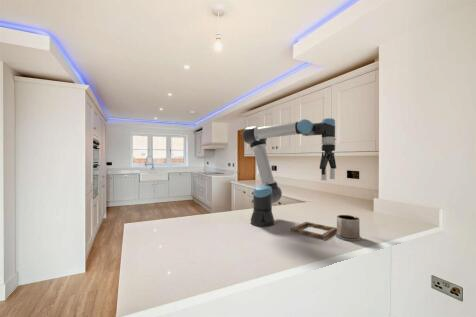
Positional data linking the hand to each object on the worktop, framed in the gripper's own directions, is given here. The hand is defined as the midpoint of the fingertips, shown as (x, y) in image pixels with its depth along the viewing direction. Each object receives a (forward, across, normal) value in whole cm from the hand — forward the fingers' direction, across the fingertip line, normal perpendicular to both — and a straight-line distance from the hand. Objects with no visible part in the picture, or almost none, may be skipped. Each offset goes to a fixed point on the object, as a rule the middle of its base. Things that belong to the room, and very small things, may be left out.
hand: (328, 179), depth 133 cm
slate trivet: (+29, -10, -14) cm, 33 cm away
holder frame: (+29, -13, +3) cm, 32 cm away
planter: (+28, -10, -14) cm, 33 cm away
